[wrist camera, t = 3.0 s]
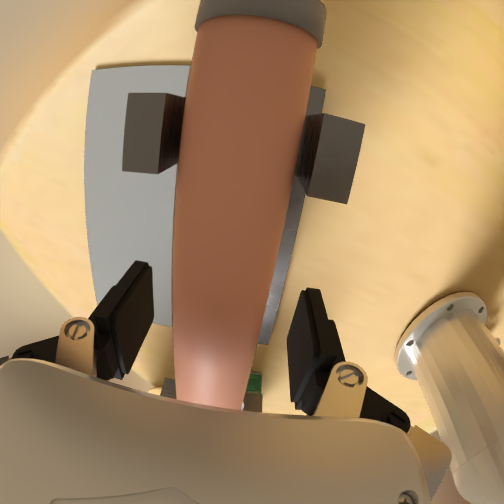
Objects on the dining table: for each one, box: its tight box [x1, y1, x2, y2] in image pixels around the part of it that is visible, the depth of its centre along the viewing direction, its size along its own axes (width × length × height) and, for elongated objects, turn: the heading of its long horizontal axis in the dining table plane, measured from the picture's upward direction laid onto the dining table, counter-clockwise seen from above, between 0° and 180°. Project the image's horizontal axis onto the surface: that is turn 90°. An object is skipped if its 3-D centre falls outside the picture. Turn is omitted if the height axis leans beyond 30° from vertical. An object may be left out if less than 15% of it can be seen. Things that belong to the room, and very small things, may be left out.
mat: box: [84, 65, 191, 327], centre depth 20 cm, size 8×22×1 cm, turn 171°
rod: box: [172, 0, 326, 410], centre depth 10 cm, size 22×3×3 cm, turn 171°
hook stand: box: [122, 86, 365, 412], centre depth 15 cm, size 8×21×13 cm, turn 171°
